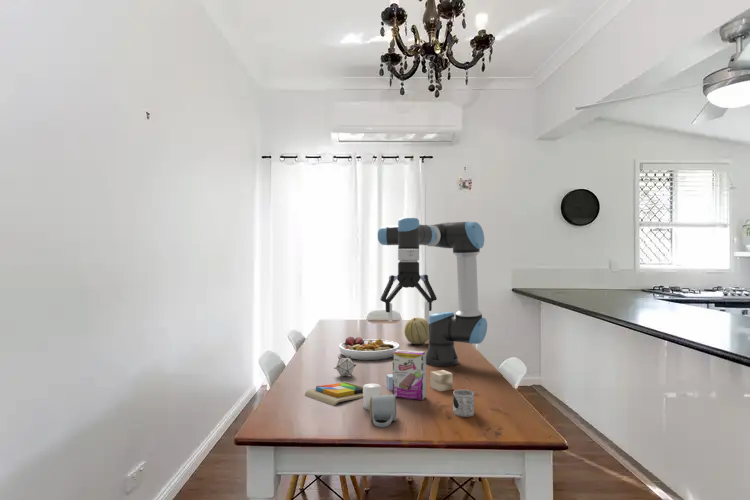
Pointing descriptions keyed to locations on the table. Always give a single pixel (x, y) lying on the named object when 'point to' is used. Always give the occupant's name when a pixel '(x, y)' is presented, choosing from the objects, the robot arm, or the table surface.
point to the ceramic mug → (383, 409)
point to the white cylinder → (370, 393)
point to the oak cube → (441, 380)
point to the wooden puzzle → (336, 392)
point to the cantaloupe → (417, 331)
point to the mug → (463, 403)
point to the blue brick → (389, 381)
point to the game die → (345, 366)
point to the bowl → (368, 348)
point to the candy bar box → (409, 374)
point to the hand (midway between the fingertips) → (408, 321)
